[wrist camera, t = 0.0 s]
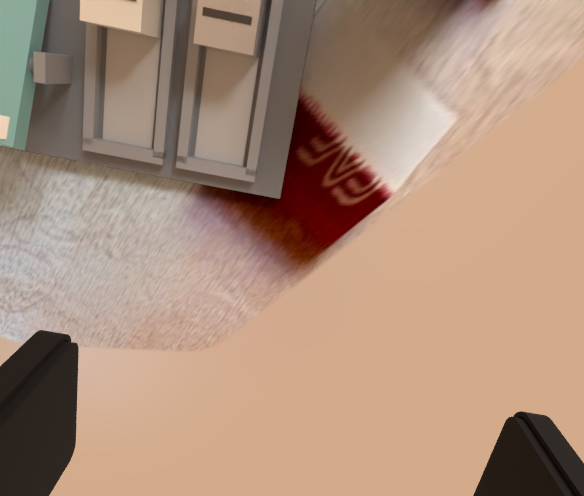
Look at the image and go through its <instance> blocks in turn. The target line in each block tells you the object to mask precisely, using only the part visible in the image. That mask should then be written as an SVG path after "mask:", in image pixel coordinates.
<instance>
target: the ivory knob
mask: <svg viewBox="0 0 584 496" xmlns="http://www.w3.org/2000/svg"><path fill="white" fill-rule="evenodd" d="M162 12H163V0H80V20H81V21H85V22H88V23H92V24H95V25H99V26H103V27H106V28H111V29H116V30H121V31H125V32H130V33H135V34H140V35H145V36H150V37H155V38H160V37H161V24H162Z"/></svg>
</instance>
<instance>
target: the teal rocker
mask: <svg viewBox="0 0 584 496" xmlns="http://www.w3.org/2000/svg"><path fill="white" fill-rule="evenodd" d="M48 6H49V0H0V146H3V147H8V148H13V149H19V150H24V151H25V146H26V140H27V134H28V128H29V122H30V116H31V110H32V104H33V97H34V91H35V85H36V82H34V65H33V51H36V52H41V49H42V43H43V37H44V30H45V24H46V18H47V12H48Z"/></svg>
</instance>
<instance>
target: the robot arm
mask: <svg viewBox="0 0 584 496" xmlns="http://www.w3.org/2000/svg"><path fill="white" fill-rule="evenodd" d="M77 377H78V345H77V344H76V343H71V338H70V336H69V335H67V334H61V333H55V332H49V331H43V330H41V331H38V332H36V333H35V334H34V335H33V336H32V337H31V338H30V339H29V340H28V341H27V342H26V343H25V344H23V346H21V347H20V348H19V349H18V350H17V351H16V352H15V353H14V354H13V355H12V356H11V357H10V358H9V359H8V360H7V361H6V362H4V363H3V364H2V365H1V366H0V496H49V495H50V493H51V491H52V490H53V488H54V486H55V485H56V483H57V482H58V480H59V478H60V476H61V475H62V473H63V472H64V470H65V468H66V467H67V465H68V463H69V462H70V460H71V457H72V455H73V452H74V448H75V441H76V412H77ZM474 496H584V463H583V462H582V461H581V459H580V458H579V457H578V455H577V454H576V452H575V451H574V450H573V448H572V447H571V446H570V444H569V443H568V442H567V440H566V439H565V438H564V436H563V435H562V434H561V432H560V431H559V430H558V428H557V427H556V425H555V424H554V423H553V421H552V420H551V419H550V418H549V417H547V416H545V415H539V414H532V413H527V412H517V413H516V414H515V415H514V416H513V417H509V418H508V419H507V420H506V422H505V424H504V426H503V428H502V431H501V433H500V436H499V438H498V440H497V442H496V445H495V447H494V449H493V452H492V454H491V456H490V458H489V461H488V463H487V466H486V468H485V470H484V472H483V475H482V477H481V480H480V482H479V484H478V486H477V489H476V491H475V493H474Z"/></svg>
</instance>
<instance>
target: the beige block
mask: <svg viewBox="0 0 584 496" xmlns="http://www.w3.org/2000/svg"><path fill="white" fill-rule="evenodd" d="M266 7H267V0H198V3H197V13H196V23H195V32H194V42H193V43H194V44H197V45H200V46H203V47H205V48H209V49H214V50H219V51H224V52H229V53H234V54H239V55H244V56H249V57H254V58H259V53H260V47H261V40H262V34H263V27H264V20H265V14H266Z"/></svg>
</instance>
